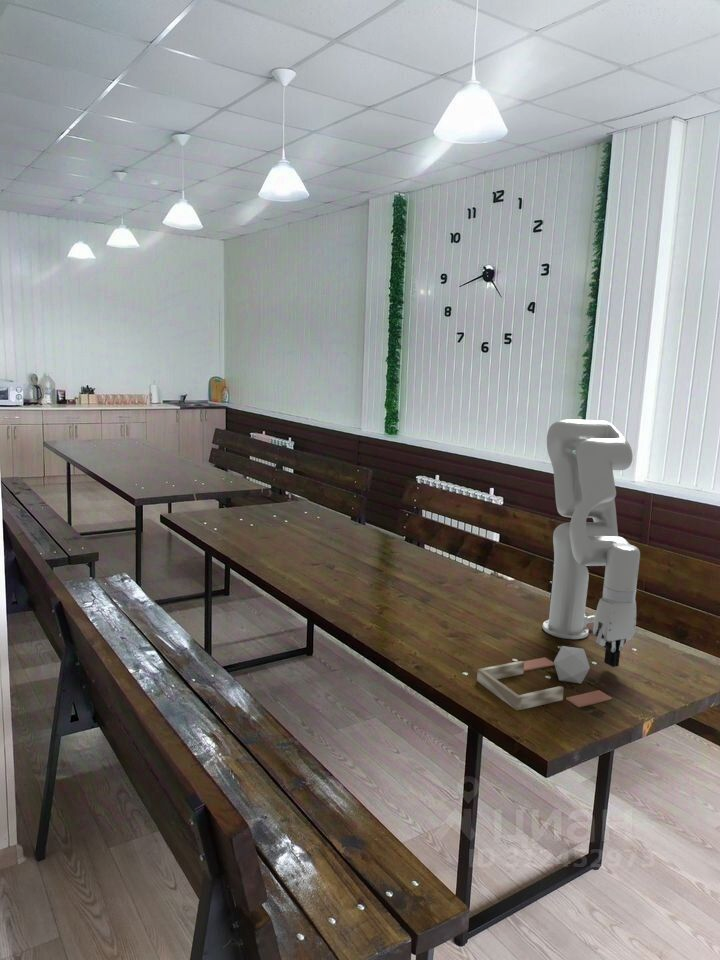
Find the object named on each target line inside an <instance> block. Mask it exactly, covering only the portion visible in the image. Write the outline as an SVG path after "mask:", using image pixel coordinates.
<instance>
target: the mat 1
mask: <svg viewBox="0 0 720 960" xmlns="http://www.w3.org/2000/svg"><path fill="white" fill-rule="evenodd" d="M522 661H523V662H524V671H523V672H528V671H533V670H538V669H543V668H548V667H552V666H553V667H554V666H555V664H554V661H552V660H551V659H549V658H547V657H545V656H544V657H540V658H533V659H530V660H529V659H528V660H522Z"/></svg>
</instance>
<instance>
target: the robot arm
mask: <svg viewBox="0 0 720 960" xmlns="http://www.w3.org/2000/svg"><path fill="white" fill-rule="evenodd" d="M546 449H547V453H548V456H549V460H550V463H551V467H552V469H553V480H554V481H553V483H554V493H555V494H554V495H555V505H556V509H557V513H558V514H559V515H560V516H562V517H565V518H571V520H570V521H569V522H564V523H561V524H559V525H558V526H556V528H555V529H554V530H553V535H552V543H553V552H554V553H553V554H554V555H553V556H554V557H553V560H554V561H553V572H552V573H553V574H552V585H551V595H550V602H549V603H550V605H549V614H548V615H549V616H548V619H547V620H545V621H543V623H542V629H543V631H544V633H547V634H549V635H550V636H553V637H556V638H561V639H566V640H581V639H585V638H587V637H588V636H589V635H590V633H589V632H590V630H589V628H588V627H587V625H588V624H590V623H591V624H592V623H593V626H592V635H593V636H594V637H597V638H596V641H595V644H597V645H599V646H602V647H603V648H604V649H605V651H604V653H605V654H604V663H605V664H606V665H608V666H610V667H611V668H615V667H619V666H620V656H621V651H623V648H624V645H625V644H626V643H627V642H628V641H630V640H632V637H633V636H634V635H635V632H636V625H637V601H636V594H637V592H638V591H637V586H638V585H637V584H638V576H639V569H640V561H641V551H640V549H639V548H638V547H637V546H635V545H634V544H633V545H632V544H630V542H629V541H628V540H627V539H626V538H624V537H622V536H619V533H618V532H619V531H618V523H617V522H618V521H617V510H616V509H617V508H616V501H615V498H616V496H617V490H616V484H615V483H616V482H615V478H614V477H615V476H614V472H613V471H625V470H627V469H629V468H630V466H631V465H632V462H633V457H634V456H633V449H632V447H631V444H630V442H629V441H628V440H627V438H626V437H625V436H624V435H623V434H622V432H621V431H620V430H618V428H616V426H614V425H613V424H612V423H611V422H610V421H609V422H608V421H607V420H603V419H602V420H601V419H600V420H598V419H596V420H595V419H561V420H557V421H554V422H553V423H552V424H551V425H550V426H549V428H548V430H547V435H546ZM574 451H575V452H574ZM588 518H589V519H591V518H592V520H593V522H590V521H588V522H587V519H588ZM587 566H588V567H594V566H595V567H597V566H598V567H599V566H602V567H604V566H605V570H604V579H603V586H602V587H603V588H602V597H601V598H599V601H598V604H597V605H596V606H597V607H596V611H595V615H594V614H593V615H588V616H587V615H586V606H587V605H586V604H587V595H588V587H589V577H590V576H589V574H590V572H589V570H588V567H587Z"/></svg>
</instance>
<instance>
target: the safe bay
mask: <svg viewBox="0 0 720 960" xmlns="http://www.w3.org/2000/svg"><path fill="white" fill-rule="evenodd" d="M523 661H524V660H518V661H514V662H508V663H503V664H497V665H492V666H488V667H482V668H478V669H477V675H476V676H477V677H476V682H478V683H479V684H480V685H481V686H483V687H484V688H485V689H487V690H488V691H490V693H492V694H494V695H495V696H497V698H499V699H500V700H502V701H503V702H504V703H506V704H507V705H508V706H510V707H511V708H513V709H514V710H515V711H517V712H518V711H521V710H526V709H530V708H534V707H539V706H542V705H543V706H544V705H547V704H553V703H555V702H561V701H563V700H564V689H565V688H564V687H563V686H562V685H558V686H555V687H550V688H545V689H541V690H535V691H531V692H527V693H523V694H518V693H517V692H515V691H514V690H512V689H511V688H509V687H508V686H507V685H506V684H504V683H502V682H501V681H499V680H500V679H505V678H511V677H514V676H515V677H516V676H520V675H523V674H524V672H525V671H524V662H523Z"/></svg>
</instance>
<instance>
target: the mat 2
mask: <svg viewBox="0 0 720 960" xmlns="http://www.w3.org/2000/svg"><path fill="white" fill-rule="evenodd" d="M612 699H613V698H612V697H611V696H610V695H608V694H606V693H605V692H603V691H602V690H600V689H598V690H594V691H589V692H585V693H581V694H576V695H572V696H569V697H568V696H567V697H565V700H566V701H568V702H569V703H571V704H572V705H574V706H576V707H577V708H582V707H586V706H591V705H594V704H598V703H604V702H607V701H611V700H612Z"/></svg>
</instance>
